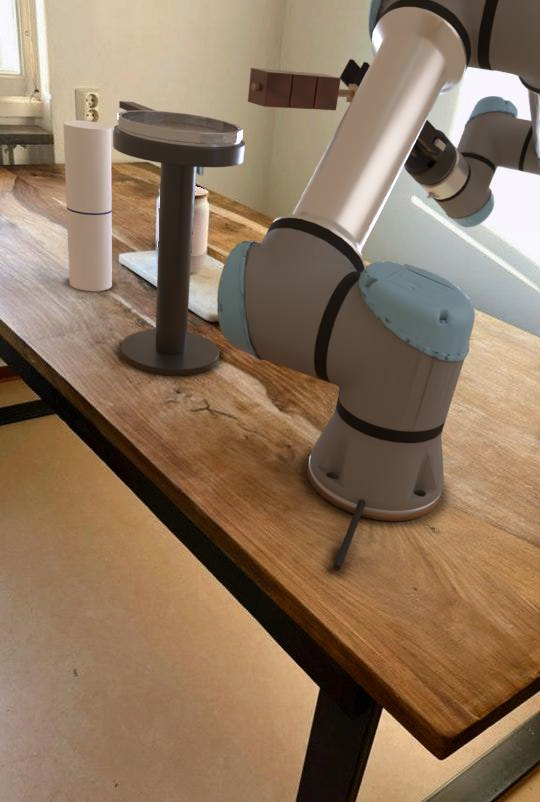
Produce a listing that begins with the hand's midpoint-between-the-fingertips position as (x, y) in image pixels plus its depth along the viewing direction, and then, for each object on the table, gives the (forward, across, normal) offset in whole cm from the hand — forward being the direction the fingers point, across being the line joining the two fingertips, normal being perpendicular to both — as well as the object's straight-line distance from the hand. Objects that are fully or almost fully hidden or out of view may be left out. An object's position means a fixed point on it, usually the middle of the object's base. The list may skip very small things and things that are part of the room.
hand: (353, 70), depth 93 cm
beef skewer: (+1, 0, -6) cm, 6 cm away
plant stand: (+4, +4, -45) cm, 46 cm away
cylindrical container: (+3, +30, -45) cm, 55 cm away
